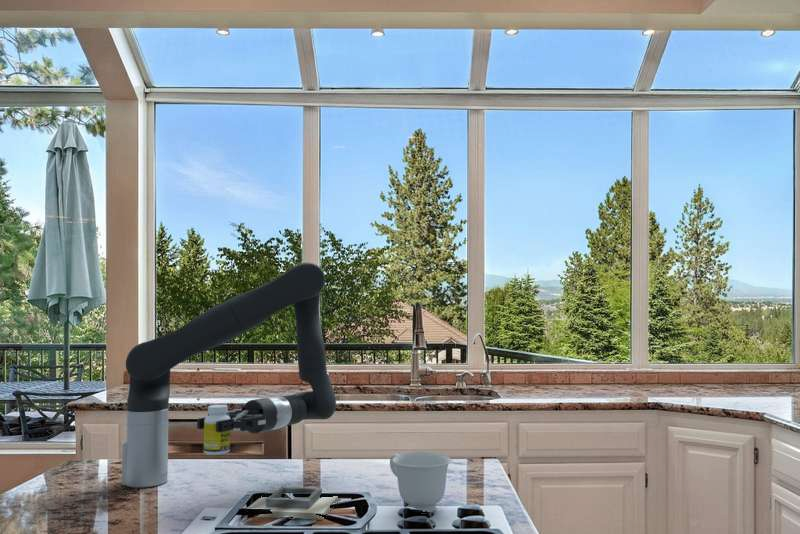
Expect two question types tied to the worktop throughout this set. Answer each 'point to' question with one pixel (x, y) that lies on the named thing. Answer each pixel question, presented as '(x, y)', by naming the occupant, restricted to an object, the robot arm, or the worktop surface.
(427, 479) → the teacup
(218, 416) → the supplement bottle
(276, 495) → the seat board
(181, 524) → the worktop surface
